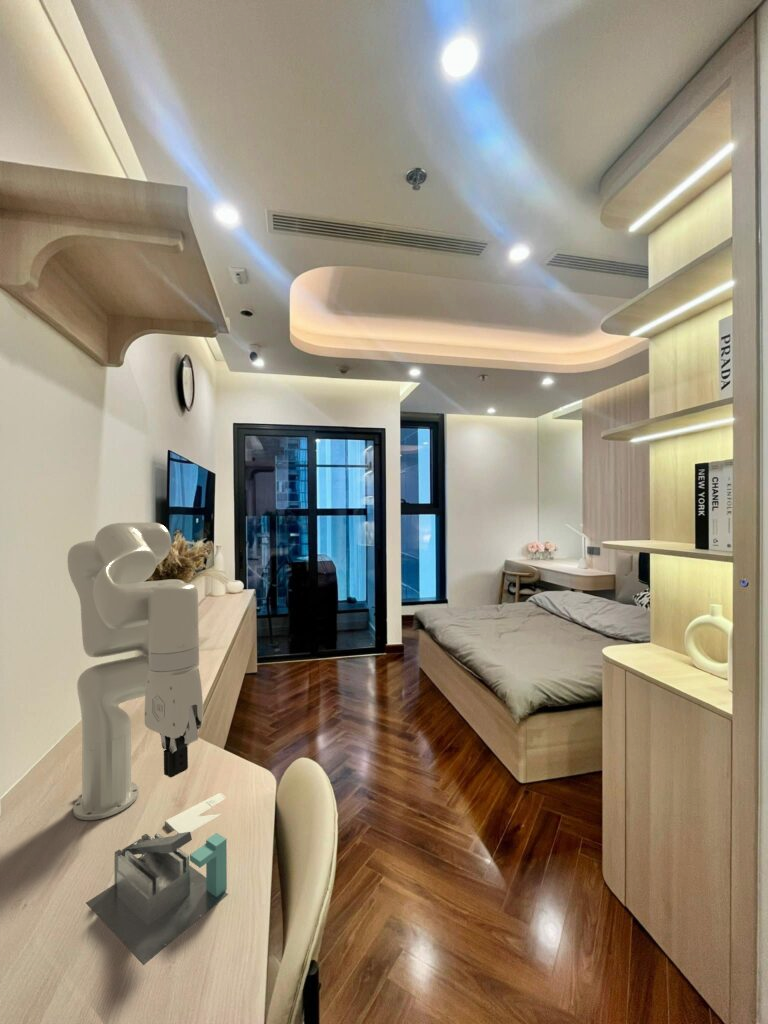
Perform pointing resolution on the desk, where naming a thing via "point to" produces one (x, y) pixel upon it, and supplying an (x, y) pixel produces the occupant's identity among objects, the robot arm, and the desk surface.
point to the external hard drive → (193, 816)
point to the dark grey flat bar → (159, 844)
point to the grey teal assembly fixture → (153, 900)
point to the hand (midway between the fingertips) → (176, 772)
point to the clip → (213, 863)
